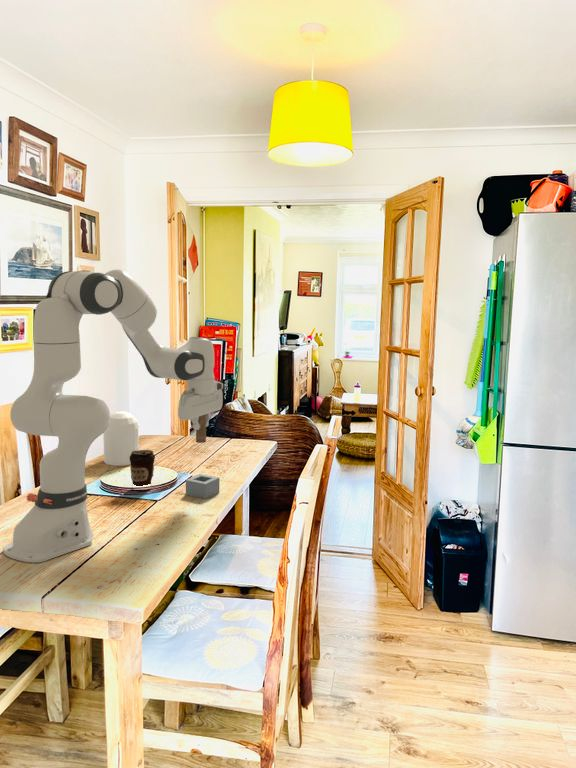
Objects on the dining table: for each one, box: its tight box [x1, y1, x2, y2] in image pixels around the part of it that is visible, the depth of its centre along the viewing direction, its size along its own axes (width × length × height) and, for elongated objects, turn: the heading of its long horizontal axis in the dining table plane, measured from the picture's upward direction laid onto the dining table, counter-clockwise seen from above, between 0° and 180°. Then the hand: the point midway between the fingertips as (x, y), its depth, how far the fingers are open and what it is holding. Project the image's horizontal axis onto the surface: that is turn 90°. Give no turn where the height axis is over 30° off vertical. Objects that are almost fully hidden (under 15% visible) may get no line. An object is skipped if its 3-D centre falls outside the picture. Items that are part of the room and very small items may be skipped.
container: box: [103, 410, 140, 467], centre depth 229 cm, size 14×13×20 cm
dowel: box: [195, 414, 207, 444], centre depth 192 cm, size 3×3×12 cm
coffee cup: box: [130, 449, 156, 486], centre depth 197 cm, size 9×8×13 cm
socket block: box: [185, 473, 220, 499], centre depth 195 cm, size 8×8×5 cm
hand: (201, 428), depth 192 cm, fingers closed on dowel, 3 cm apart
